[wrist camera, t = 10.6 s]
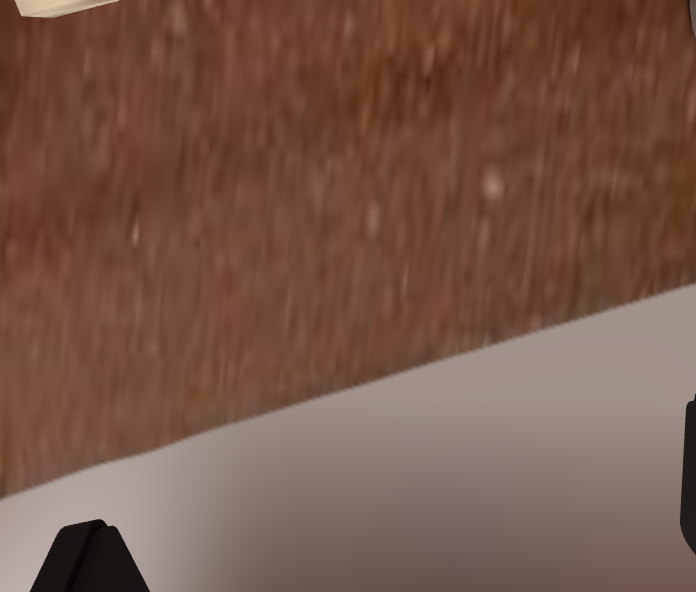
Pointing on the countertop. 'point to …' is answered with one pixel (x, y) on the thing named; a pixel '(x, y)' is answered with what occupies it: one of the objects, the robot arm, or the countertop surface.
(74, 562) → the robot arm
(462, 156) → the countertop surface
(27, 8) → the plinth
